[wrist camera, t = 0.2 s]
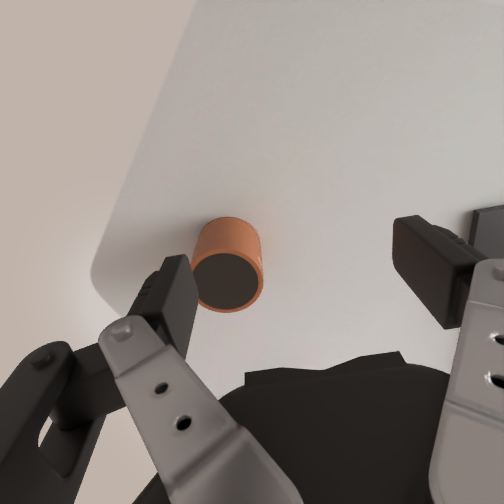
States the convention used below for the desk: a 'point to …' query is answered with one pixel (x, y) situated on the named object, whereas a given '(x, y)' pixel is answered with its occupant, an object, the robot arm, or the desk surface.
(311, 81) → the desk surface
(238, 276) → the copper pot
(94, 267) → the desk surface
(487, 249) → the spatula
